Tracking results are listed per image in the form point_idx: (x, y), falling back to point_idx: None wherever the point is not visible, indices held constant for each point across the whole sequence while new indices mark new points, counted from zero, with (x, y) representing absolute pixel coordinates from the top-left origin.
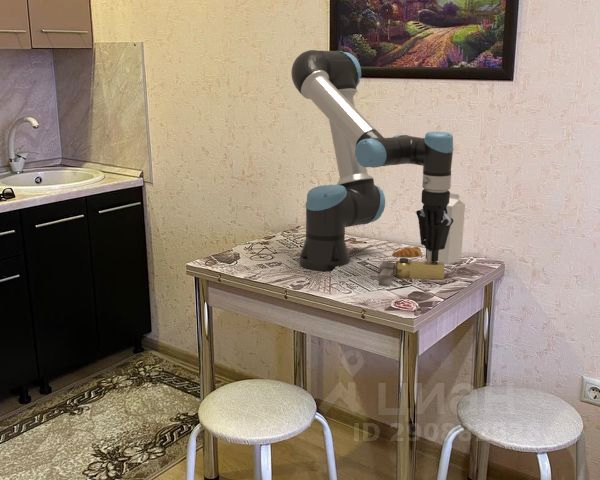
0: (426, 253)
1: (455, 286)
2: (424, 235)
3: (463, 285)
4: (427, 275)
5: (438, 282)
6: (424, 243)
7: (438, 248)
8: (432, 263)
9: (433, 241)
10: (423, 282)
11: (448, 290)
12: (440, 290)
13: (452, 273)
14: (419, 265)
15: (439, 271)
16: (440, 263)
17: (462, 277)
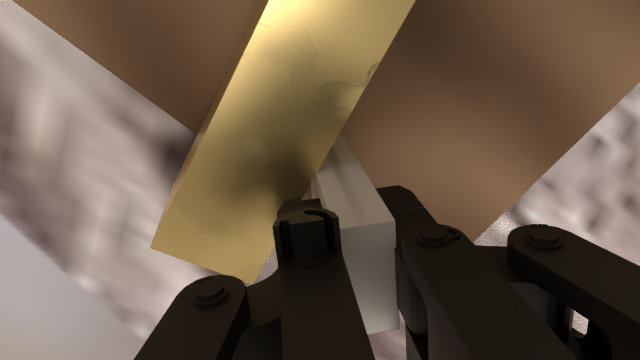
0: (417, 211)
1: (97, 221)
2: (624, 351)
3: (107, 279)
4: (225, 78)
5: None
6: (509, 258)
7: (170, 311)
8: (250, 170)
9: (296, 347)
10: None
11: (7, 123)
12: (17, 62)
13: None
14: (263, 8)
15: (177, 182)
16: (224, 243)
17: None
